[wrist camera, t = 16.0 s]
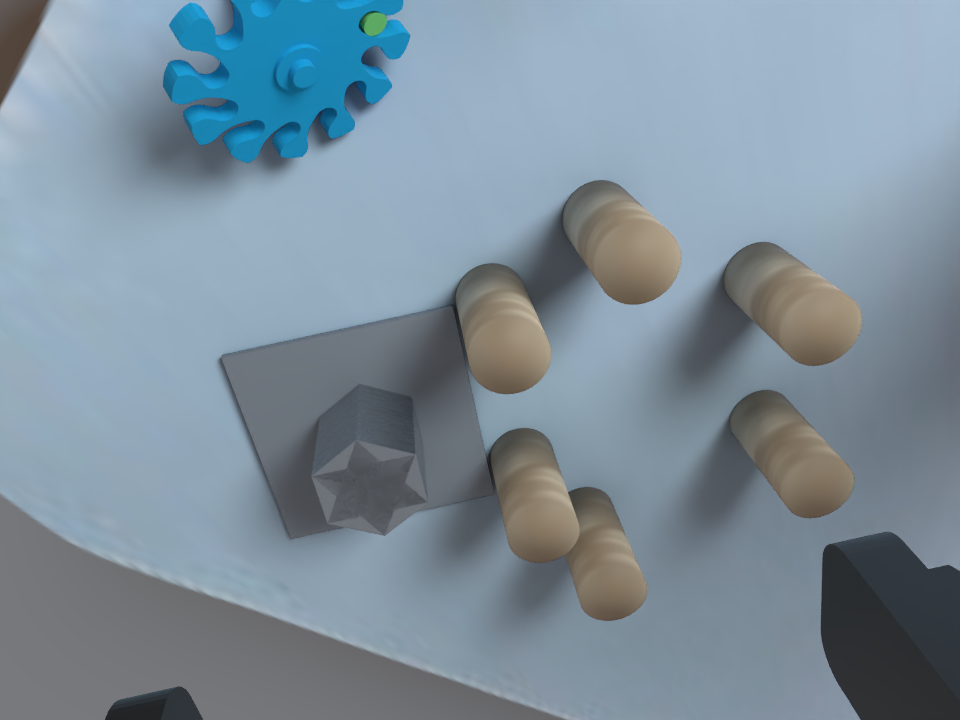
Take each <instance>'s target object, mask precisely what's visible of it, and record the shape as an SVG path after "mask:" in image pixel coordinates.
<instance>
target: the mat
mask: <svg viewBox="0 0 960 720" xmlns="http://www.w3.org/2000/svg"><path fill="white" fill-rule="evenodd" d="M221 359H222V362H223V364H224V367H225V369H226V372H227V375H228V377H229V380H230V382H231V385H232V388H233V390H234V393H235V395H236V398H237V401H238V403H239V406H240V408H241V411H242V413H243V416H244V419H245V421H246V424H247V426H248V429H249V432H250V434H251V437H252V439H253V442H254V445H255V447H256V450H257V452H258V455H259V457H260V460H261V463H262V465H263V468H264V470H265V473H266V476H267V478H268V481H269V483H270V486H271V489H272V491H273V494H274V496H275V499H276V502H277V504H278V507H279V509H280V512H281V514H282V517H283V520H284V522H285V525H286V527H287V530H288V533H289V535H290V538H291V539H294V538H298V537H303V536H307V535H312V534H317V533H321V532H326V531H330V530H335V529H339V528H344V527H341V526H336V525H331V524H328V523H327V520H326V518H325V515H324V512H323V509H322V506H321V503H320V500H319V497H318V494H317V491H316V488H315V485H314V482H313V479H312V477H311V476H312V469H313V462H314V454H315V447H316V440H317V433H318V426H319V418H320V416H321V415H322V414H323V413H324V412H326V411H327V410H328V409H329V408H330V407H332V406H333V405H334V404H335V403H336V402H338V401H339V400H340V399H341V398H342V397H344V396H345V395H346V394H347V393H348V392H350V391H351V390H352V389H353V388H354V387H356V386H357V385H358V384H363V385H367V386H371V387H374V388H378V389H382V390H386V391H390V392H394V393H398V394H402V395H406V396H409V397H412V400H413V404H414V408H415V412H416V416H417V420H418V424H419V428H420V432H421V436H422V440H423V448H424V460H425V472H426V484H427V496H428V503H427V504H425V505H424V506H423V507H421V508H420V509H419V510H417V511H421V510H426V509H430V508H435V507H439V506H444V505H448V504H453V503H457V502H462V501H467V500H471V499H476V498H480V497H485V496H489V495H494V491H493V486H492V481H491V477H490V472H489V468H488V463H487V459H486V454H485V450H484V445H483V441H482V436H481V432H480V427H479V423H478V418H477V414H476V409H475V405H474V400H473V396H472V391H471V387H470V382H469V377H468V373H467V368H466V364H465V359H464V355H463V350H462V346H461V341H460V337H459V332H458V328H457V323H456V319H455V314H454V310H453V305H450V306H446V307H441V308H436V309H432V310H427V311H423V312H418V313H413V314H409V315H404V316H400V317H395V318H390V319H386V320H381V321H376V322H372V323H367V324H363V325H358V326H353V327H349V328H344V329H340V330H335V331H330V332H326V333H321V334H317V335H312V336H307V337H303V338H298V339H293V340H289V341H284V342H280V343H275V344H270V345H266V346H261V347H257V348H252V349H247V350H243V351H238V352H233V353H229V354H224V355H222V358H221ZM417 511H416V512H417Z"/></svg>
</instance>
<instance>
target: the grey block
mask: <svg viewBox="0 0 960 720" xmlns="http://www.w3.org/2000/svg"><path fill="white" fill-rule="evenodd" d="M311 477H312V479H313V482H314V485H315V488H316V491H317V494H318V497H319V500H320V503H321V506H322V509H323V512H324V515H325V518H326V520H327V523H328V524H331V525H336V526H341V527H346V528H350V529H355V530H360V531H365V532H369V533H374V534H379V535H384V536H385V535H386V534H388V533H389V532H390V531H391V530H393V529H394V528H395V527H397V526H398V525H399V524H401V523H402V522H403V521H404V520H406V519H407V518H408V517H410V516H411V515H412V514H414V513H415V512H416V511H417V510H419V509H420V508H421V507H423V506H424V505H425V504H427V503H428V496H427V484H426V472H425V460H424V448H423V440H422V436H421V432H420V428H419V424H418V420H417V416H416V412H415V408H414V404H413V400H412V397H409V396H406V395H402V394H398V393H394V392H390V391H386V390H382V389H378V388H374V387H371V386H367V385H363V384H358V385H357V386H356V387H354V388H353V389H352V390H351V391H350V392H348V393H347V394H346V395H345V396H344V397H342V398H341V399H340V400H339V401H338V402H336V403H335V404H334V405H333V406H332V407H330V408H329V409H328V410H327V411H326V412H324V413H323V414H322V415H321V416H320V418H319V426H318V433H317V440H316V447H315V454H314V462H313V469H312V476H311Z"/></svg>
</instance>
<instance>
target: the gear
mask: <svg viewBox="0 0 960 720" xmlns="http://www.w3.org/2000/svg"><path fill="white" fill-rule="evenodd" d="M231 1H232V4H233V10H234V24H233V27H232V28H231V30H230V31H229V32H227V33H226V34H223V35H215V28H214V26H213V24H212V22H211V21H210V19H209V18H208V16H207V15H206V13H205V11H204V10H203V9H202V7H200V6H199V5H197V4H195V3H189V4H187V5H186V6H184V7H183V8H182V9H181V10H180V11H179V12H178V13H177V15H176V16H175V17H174V18H173V20H172V21H171V23H170V24H169V26H170V28H171V30H172V31H173V33H174V35H175V36H176V38H177V40H178V41H179V43H180V44H181V46H182V47H184V48H185V49H187V50H191V51H200V52H205V53H208V54H210V55H212V56H214V57H215V58H217V59H218V60H219V61H220V65H219V67H218V68H217V70H216V71H214V72H212V73H210V74H200V73H198V72H197V71H196V70H195V69H194V68H193V67H192V66H191V65H190V64H189V63H188V62H186V61H182V60H174V61H170V62H169V63H168V65H167V67H166V70H165V73H164V80H163V87H164V89H165V91H166V92H167V94H168V96H169V97H170V99H171V101H172V102H174V103H176V104H187V103H190V102H192V101H195V100H198V99H202V98H210V97H214V98H223V99H227V100H228V101H227V102H226V103H225V104H224V105H222V106H219V107H209V106H205V105H194V106H191V107H189V108H187V109H186V110H185V111H184V112H183V113H184V119H185V122H186V124H187V125H188V127H189V129H190V131H191V132H192V134H193V136H194V137H195V139H196V141H197V142H198V143H199V145H205V144H208V143H210V142H212V141H214V140H215V139H216V138H217V137H218V136H219V135H220V134H222V133H223V132H224V131H225V130H227V129H229V128H231V127H233V126H235V125H237V124H240V123H244V122H248V121H252V120H254V121H253V122H251V123H250V124H248V125H245V126H241V127H237V128H234V129H232V130H230V131H228V132H227V133H226V134H225V136H224V137H223V142H224V143H225V145H226V147H227V148H228V150H229V152H230V153H231V155H232V156H233V157H235V158H236V159H238V160H240V161H243V162H246V163H249V162H251V161H253V160H254V159H255V158H256V157H257V156H258V154H259V152H260V149H261V147H262V145H263V143H264V142H265V141H266V139H267V138H268V137H269V136H270V135H271V134H272V133H274V132H275V131H276V130H277V129H279V128H280V127H282V126H283V125H285V124H286V123H288V124H287V125H285V126H284V127H282V128H281V129H280V130H278V131H277V132H276V133H275V135H274V136H273V139H272V142H273V145H274V147H275V148H276V150H277V151H278V153H279V155H280V156H281V157H284V158H296V157H303V156H304V155H305V153H306V152H307V149H308V143H307V134H308V130H309V128H310V125H311V124H312V122H313V120H314V119H315V117H316V116H317V114H318V113H319V112H320V111H321V110H323V109H325V110H324V111H323V113H322V115H321V117H320V123H321V125H322V126H323V128H324V129H325V131H326V132H327V134H328V135H329V137H330V138H331V139H333V138H337V137H340V136H342V135H344V134H346V133H348V132H350V131H352V130H353V129H354V127H355V122H354V120H353V118H352V117H351V115H350V114H349V113H348V111H347V110H346V108H345V106H344V98H345V91H346V89H347V87H348V86H349V85H350V84H351V83H353V82H355V81H357V87H358V89H359V90H360V92H361V93H362V94H363V96H364V97H365V99H366V100H367V101H368V102H369V103H371V104H374V103H376V102H377V101H379V100H380V99H381V98H382V97H383V96H384V95H385V94H386V93H387V92H388V91H389V90H390V89H391V88H392V84H391V82H390V81H389V79H388V78H387V77H386V75H385V74H384V73H383V71H382V70H381V69H380V68H378V67H371V66H367V65H365V64H363V63H362V62H361V57H362V55H363V53H364V52H365V51H366V50H367V49H368V48H370V47H373V46H379V47H380V48H381V50H382V51H383V53H384V54H385V55H386V57H387V58H389V59H398V58H400V57H401V55H402V54H403V53H404V51H405V49H406V47H407V44H408V41H409V38H410V34H409V33H408V32H407V31H406V29H405V28H404V27H403V25H402V24H401V23H400V22H399V21H397V20H389V21H387V18H386V16H385V15H393V14H395V13H397V12H399V11H400V10H401V9H402V6H403V0H231Z"/></svg>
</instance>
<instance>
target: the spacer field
mask: <svg viewBox="0 0 960 720" xmlns="http://www.w3.org/2000/svg"><path fill="white" fill-rule="evenodd" d="M562 221H563V228H564V231H565V233H566V235H567V237H568V238H569V240H570V241H571V243H572V244H573V246H574V247H575V249H576V250H577V252H578V253H579V255H580V256H581V258H582V259H583V261H584V262H585V264H586V265H587V267H588V268H589V270H590V271H591V273H592V274H593V276H594V277H595V279H596V280H597V282H598V283H599V285H600V286H601V288H602V289H603V290H604V292H605V293H606V294H607V295H608V296H609V297H611V298H612V299H614V300H616V301H618V302H621V303H624V304H631V305H633V304H643V303H646V302H649V301H652V300H654V299H656V298H658V297H659V296H661V295H662V294H663V293H664V292H666V291H667V290H668V289H669V287H670V286H671V285H672V284H673V282H674V281H675V279H676V277H677V275H678V272H679V269H680V264H681V252H680V248H679V245H678V243H677V240H676V239H675V237H674V236H673V235H672V234H671V233H670V232H669V231H668V230H667V229H666V228H665V227H664V226H663V225H662V224H661V223H660V222H659V221H658V220H656V219H655V218H654V217H653V216H652V215H651V214H650V213H649V212H648V211H647V210H646V209H645V208H644V207H643V206H642V205H641V204H639V203H638V202H637V201H636V200H635V199H634V198H633V197H632V196H631V195H630V194H629V193H628V192H627V191H626V190H625V189H623V188H622V187H621V186H619V185H618V184H616V183H614V182H610V181H605V180H598V181H592V182H589V183H587V184H584V185H583V186H581V187H579V188H578V189H577V190H576V191H575V192H574V193H573V194H572V195H571V196H570V197H569V199H568V201H567V203H566V205H565V207H564V210H563V217H562ZM724 287H725V291H726V293H727V295H728V296H729V297H730V299H731V300H732V301H733V302H735V303H736V304H737V305H738V306H739V307H740V308H741V309H742V310H743V311H744V312H745V313H746V314H747V315H748V316H749V317H750V318H751V319H752V320H753V321H754V322H755V323H756V324H757V325H758V326H759V327H760V328H761V329H762V330H763V331H764V332H766V333H767V334H768V335H769V336H770V337H771V338H772V339H773V340H774V341H775V342H776V343H777V344H778V345H779V346H780V347H781V348H782V349H783V350H784V351H785V352H786V353H787V354H788V355H789V356H790V357H791V358H792V359H794V360H795V361H797V362H798V363H801V364H803V365H808V366H818V365H823V364H827V363H830V362H832V361H834V360H836V359H838V358H839V357H841V356H842V355H843V354H845V353H846V352H847V351H848V350H849V349H850V348H851V347H852V345H853V344H854V343H855V341H856V339H857V338H858V336H859V333H860V330H861V326H862V314H861V311H860V308H859V306H858V304H857V303H856V302H855V301H854V300H853V299H852V298H850V297H849V296H848V295H846V294H845V293H843V292H842V291H841V290H839V289H838V288H837V287H835V286H834V285H832V284H831V283H830V282H828V281H827V280H825V279H824V278H823V277H821V276H820V275H818V274H817V273H816V272H814V271H813V270H811V269H810V268H809V267H807V266H806V265H804V264H803V263H802V262H800V261H799V260H797V259H796V258H795V257H793V256H792V255H790V254H789V253H788V252H786V251H785V250H784V249H782V248H781V247H779V246H778V245H776V244H773V243H769V242H758V243H754V244H751V245H748V246H746V247H744V248H743V249H741V250H740V251H739V252H738V253H736V254H735V255H734V257H733V258H732V259H731V260H730V262H729V264H728V265H727V268H726V270H725V274H724ZM456 305H457V310H458V315H459V319H460V324H461V329H462V333H463V338H464V343H465V347H466V352H467V357H468V361H469V366H470V369H471V372H472V374H473V376H474V378H475V379H476V380H477V382H478V383H479V384H480V385H482V386H483V387H484V388H486V389H488V390H490V391H492V392H496V393H500V394H514V393H519V392H522V391H525V390H527V389H529V388H531V387H532V386H534V385H535V384H536V383H538V382H539V381H540V380H541V379H542V377H543V376H544V375H545V373H546V372H547V370H548V367H549V365H550V360H551V348H550V344H549V341H548V339H547V337H546V334H545V332H544V330H543V328H542V325H541V323H540V321H539V318H538V316H537V314H536V312H535V309H534V307H533V305H532V302H531V300H530V298H529V296H528V293H527V291H526V289H525V286H524V284H523V282H522V280H521V278H520V277H519V276H518V274H517V273H516V272H515V271H513V270H512V269H510V268H509V267H507V266H504V265H501V264H494V263H493V264H484V265H480V266H478V267H475V268H474V269H472V270H470V271H469V272H468V273H467V274H466V275H465V276H464V277H463V278H462V279H461V281H460V283H459V285H458V287H457V291H456ZM730 428H731V431H732V433H733V435H734V436H735V437H736V439H737V440H738V441H739V443H740V444H741V446H742V447H743V448H744V450H745V451H746V452H747V454H748V455H749V456H750V458H751V459H752V460H753V462H754V463H755V464H756V466H757V467H758V468H759V470H760V471H761V472H762V474H763V475H764V477H765V478H766V479H767V481H768V482H769V483H770V485H771V486H772V487H773V489H774V490H775V491H776V493H777V494H778V495H779V497H780V498H781V499H782V501H783V502H784V503H785V505H786V506H787V507H788V509H789V510H790V511H791V512H792V513H793V514H795V515H797V516H800V517H804V518H816V517H821V516H824V515H827V514H829V513H831V512H833V511H835V510H836V509H838V508H839V507H840V506H841V505H842V504H844V502H845V501H846V500H847V499H848V498H849V496H850V494H851V492H852V490H853V487H854V474H853V472H852V470H851V468H850V467H849V466H848V465H847V464H846V463H845V462H844V461H843V460H842V458H841V457H840V456H839V455H838V454H837V453H836V452H835V451H834V450H833V449H832V448H831V447H830V445H829V444H828V443H827V442H826V441H825V440H824V439H823V438H822V437H821V436H820V435H819V434H818V432H817V431H816V430H815V429H814V428H813V427H812V426H811V425H810V424H809V423H808V422H807V421H806V419H805V418H804V417H803V416H802V415H801V414H800V413H799V412H798V411H797V410H796V409H795V408H794V407H793V405H792V404H791V403H790V402H789V401H788V400H787V399H786V398H785V397H784V396H783V395H782V394H780V393H778V392H776V391H772V390H762V391H757V392H754V393H752V394H750V395H748V396H746V397H745V398H743V399H742V400H741V401H740V402H739V403H738V404H737V405H736V407H735V408H734V410H733V412H732V414H731V417H730ZM490 460H491V465H492V470H493V475H494V479H495V484H496V489H497V493H498V498H499V502H500V507H501V512H502V516H503V521H504V526H505V530H506V535H507V540H508V544H509V546H510V548H511V550H512V551H513V553H514V554H515V555H517V556H518V557H520V558H521V559H523V560H526V561H529V562H535V563H542V562H549V561H553V560H556V559H558V558H560V557H562V556H564V555H565V556H566V559H567V562H568V565H569V569H570V572H571V575H572V578H573V582H574V585H575V588H576V591H577V595H578V598H579V601H580V604H581V607H582V609H583V610H584V612H585V613H586V614H587V615H589V616H590V617H592V618H595V619H598V620H603V621H612V620H618V619H621V618H624V617H626V616H629V615H630V614H632V613H634V612H635V611H636V610H637V609H638V608H639V607H640V606H641V605H642V604H643V602H644V601H645V598H646V596H647V584H646V582H645V579H644V577H643V575H642V572H641V570H640V567H639V565H638V563H637V560H636V558H635V556H634V553H633V551H632V549H631V546H630V544H629V542H628V539H627V537H626V534H625V532H624V530H623V527H622V525H621V523H620V520H619V518H618V516H617V513H616V511H615V508H614V506H613V504H612V501H611V499H610V498H609V496H608V495H607V494H606V493H605V492H603V491H601V490H599V489H596V488H591V487H583V488H578V489H575V490H572V491H570V492H569V493H568V491H567V488H566V485H565V483H564V480H563V477H562V474H561V471H560V468H559V465H558V463H557V460H556V457H555V454H554V451H553V448H552V445H551V443H550V441H549V439H548V438H547V437H546V436H545V435H544V434H542V433H541V432H539V431H537V430H534V429H529V428H520V429H515V430H512V431H509V432H507V433H505V434H504V435H502V436H501V437H500V438H499V439H498V440H497V441H496V442H495V444H494V445H493V447H492V450H491V454H490Z"/></svg>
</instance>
